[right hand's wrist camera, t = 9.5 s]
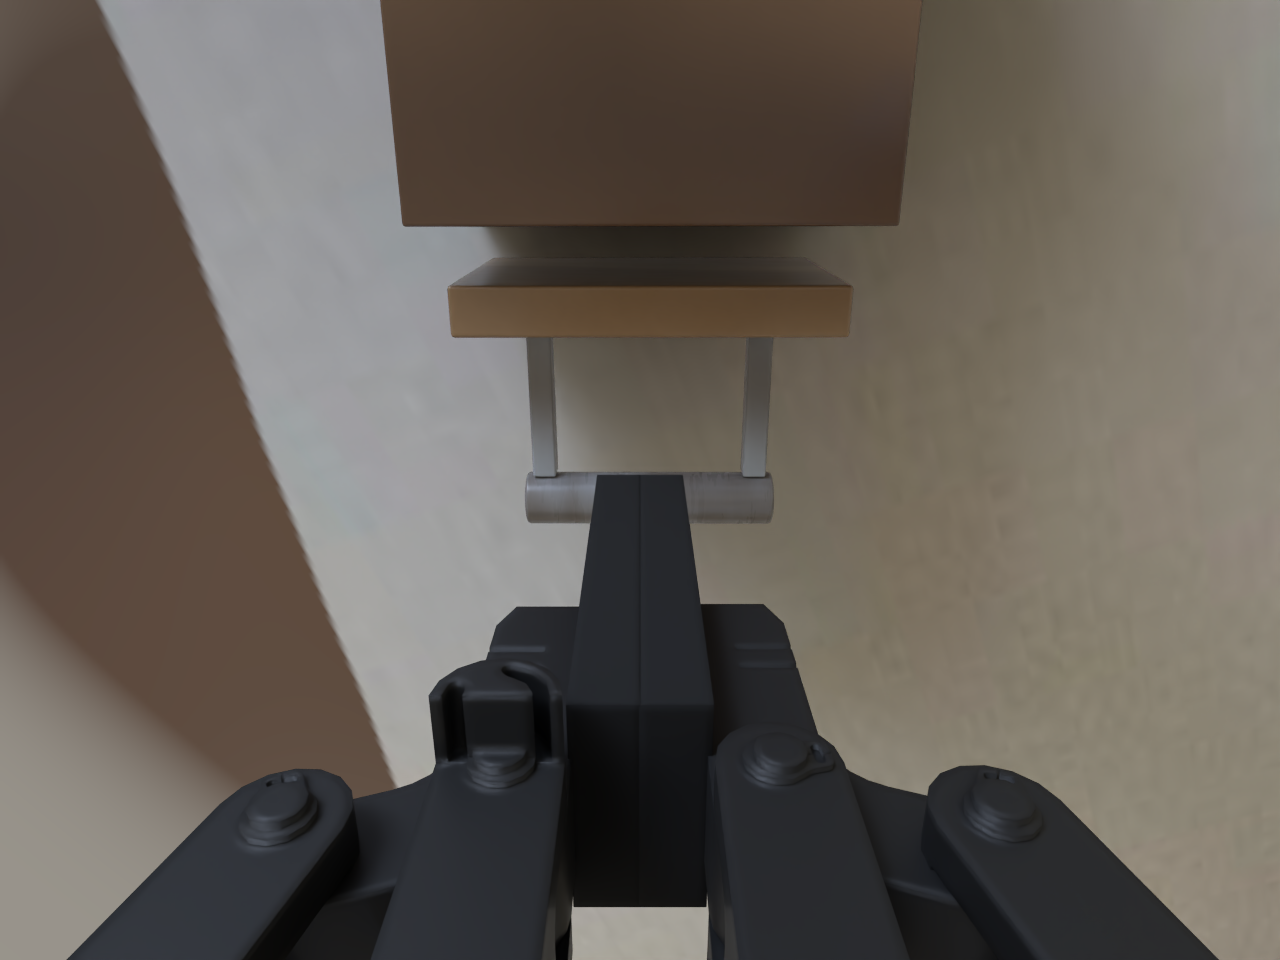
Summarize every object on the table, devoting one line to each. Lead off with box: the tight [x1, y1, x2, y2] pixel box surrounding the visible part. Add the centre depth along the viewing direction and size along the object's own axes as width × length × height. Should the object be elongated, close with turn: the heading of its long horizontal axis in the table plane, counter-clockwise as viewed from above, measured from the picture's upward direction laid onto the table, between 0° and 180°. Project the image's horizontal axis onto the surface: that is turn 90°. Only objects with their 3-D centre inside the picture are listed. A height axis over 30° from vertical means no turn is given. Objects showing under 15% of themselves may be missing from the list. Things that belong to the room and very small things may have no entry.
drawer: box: [447, 258, 853, 523], centre depth 20 cm, size 23×9×6 cm, turn 0°
